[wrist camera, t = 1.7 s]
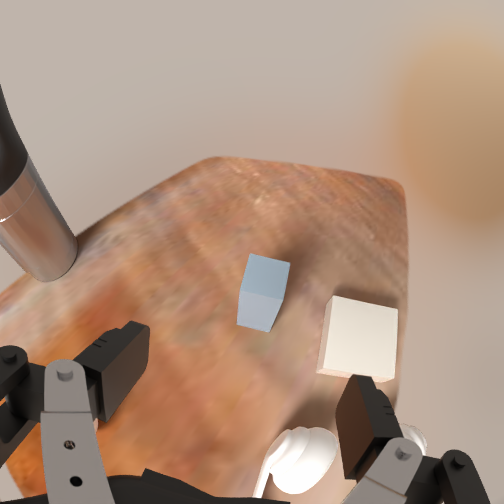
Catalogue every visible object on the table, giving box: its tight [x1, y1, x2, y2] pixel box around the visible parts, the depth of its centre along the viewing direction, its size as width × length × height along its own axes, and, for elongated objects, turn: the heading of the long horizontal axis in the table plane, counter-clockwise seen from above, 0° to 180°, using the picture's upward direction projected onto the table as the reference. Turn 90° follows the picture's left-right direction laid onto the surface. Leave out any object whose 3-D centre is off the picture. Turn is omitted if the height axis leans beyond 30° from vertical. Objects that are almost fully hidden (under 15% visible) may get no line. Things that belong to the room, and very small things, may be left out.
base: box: [316, 295, 398, 382], centre depth 34 cm, size 9×9×3 cm
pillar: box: [237, 254, 290, 332], centre depth 33 cm, size 4×4×10 cm
